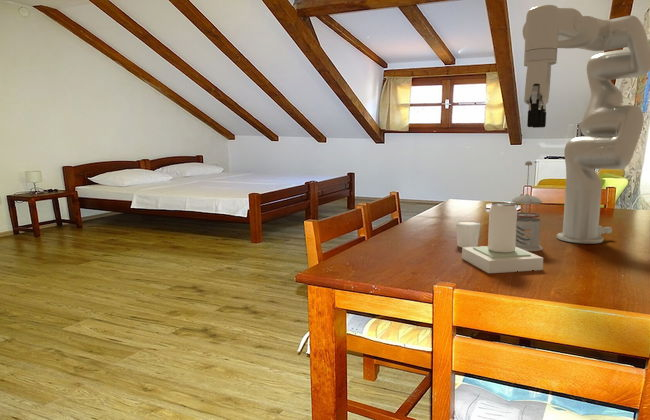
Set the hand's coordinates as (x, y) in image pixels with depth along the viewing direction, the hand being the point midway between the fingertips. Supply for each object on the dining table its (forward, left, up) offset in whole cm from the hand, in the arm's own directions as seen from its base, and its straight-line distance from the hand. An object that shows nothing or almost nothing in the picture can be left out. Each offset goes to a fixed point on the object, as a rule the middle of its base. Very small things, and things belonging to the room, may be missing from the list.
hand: (536, 127), depth 117 cm
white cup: (+11, -14, -34) cm, 39 cm away
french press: (-4, -10, -34) cm, 36 cm away
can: (+12, +6, -31) cm, 34 cm away
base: (+12, +6, -34) cm, 37 cm away
